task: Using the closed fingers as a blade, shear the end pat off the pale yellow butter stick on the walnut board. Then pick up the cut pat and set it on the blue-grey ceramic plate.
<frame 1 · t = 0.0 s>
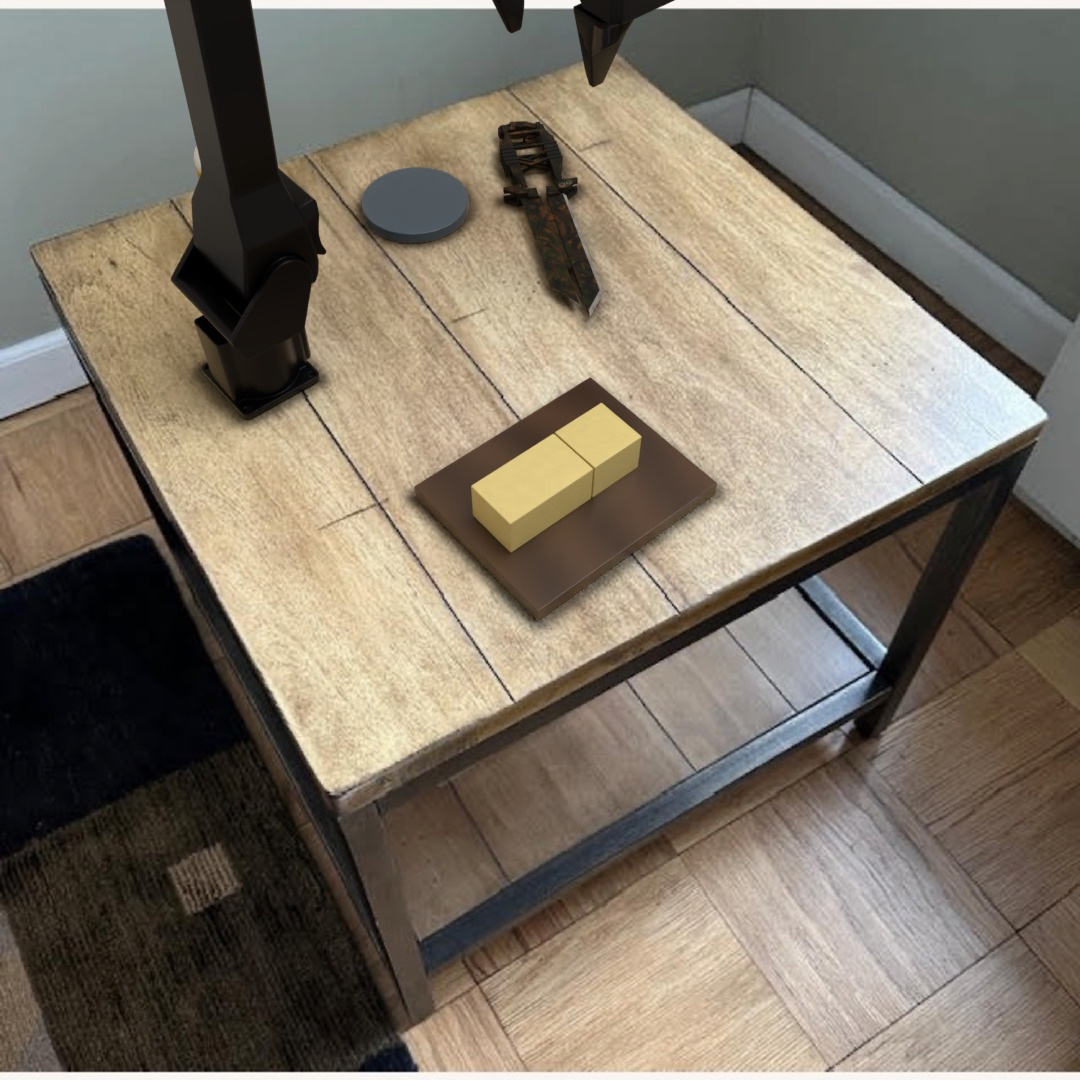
hand: (554, 56, 80), 15 cm above the table, tool pointing down, fingers open, 9 cm apart
board: (565, 495, 75), on the table
knife: (553, 221, 93), on the table
butter pat: (595, 465, 75), point 1 cm above the table, touching board
butter stick: (532, 507, 73), point 1 cm above the table, touching board
plate: (415, 209, 93), on the table
pill bottle: (255, 239, 91), on the table
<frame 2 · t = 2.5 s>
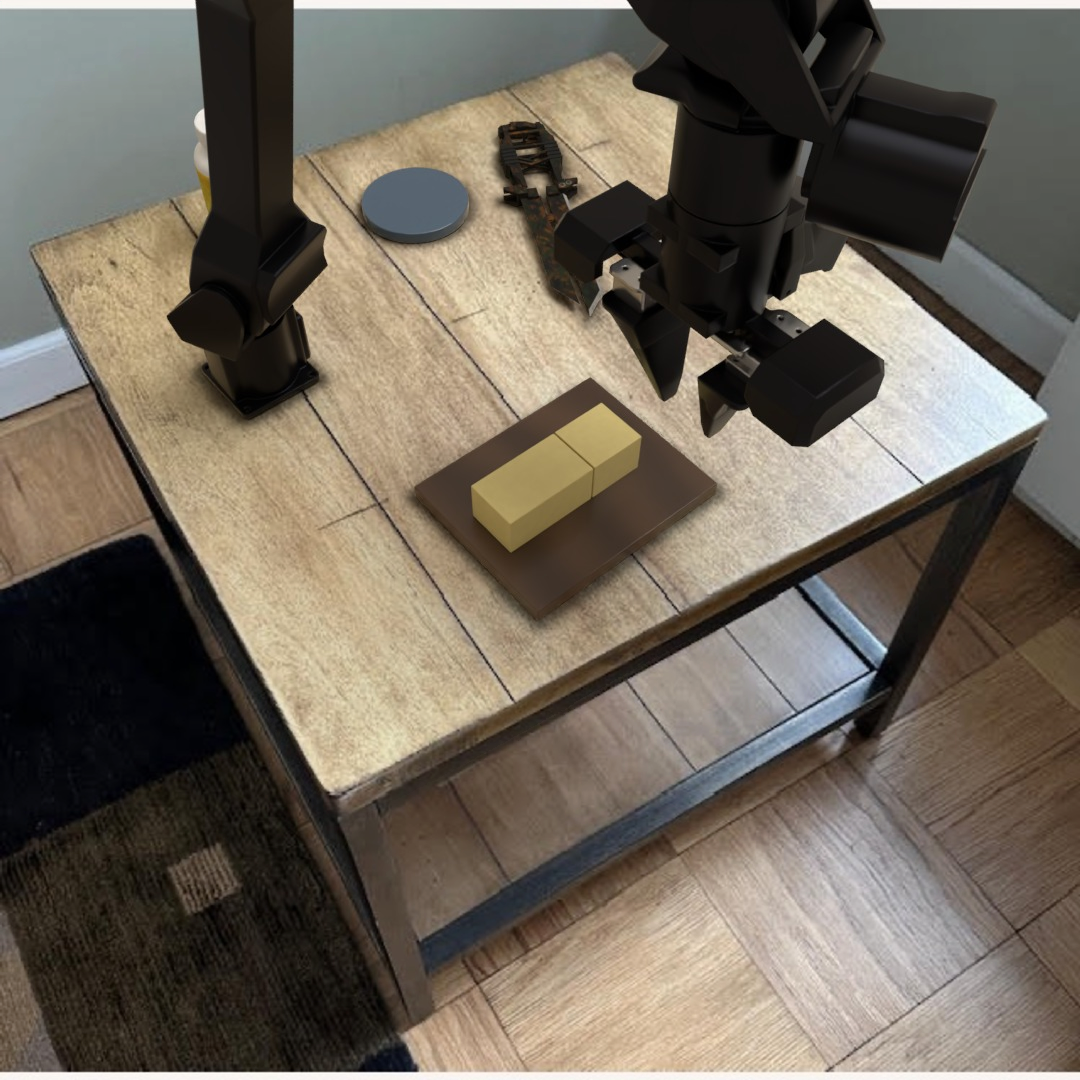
hand: (689, 414, 63), 12 cm above the table, tool pointing down, fingers open, 3 cm apart
nothing on the table moved.
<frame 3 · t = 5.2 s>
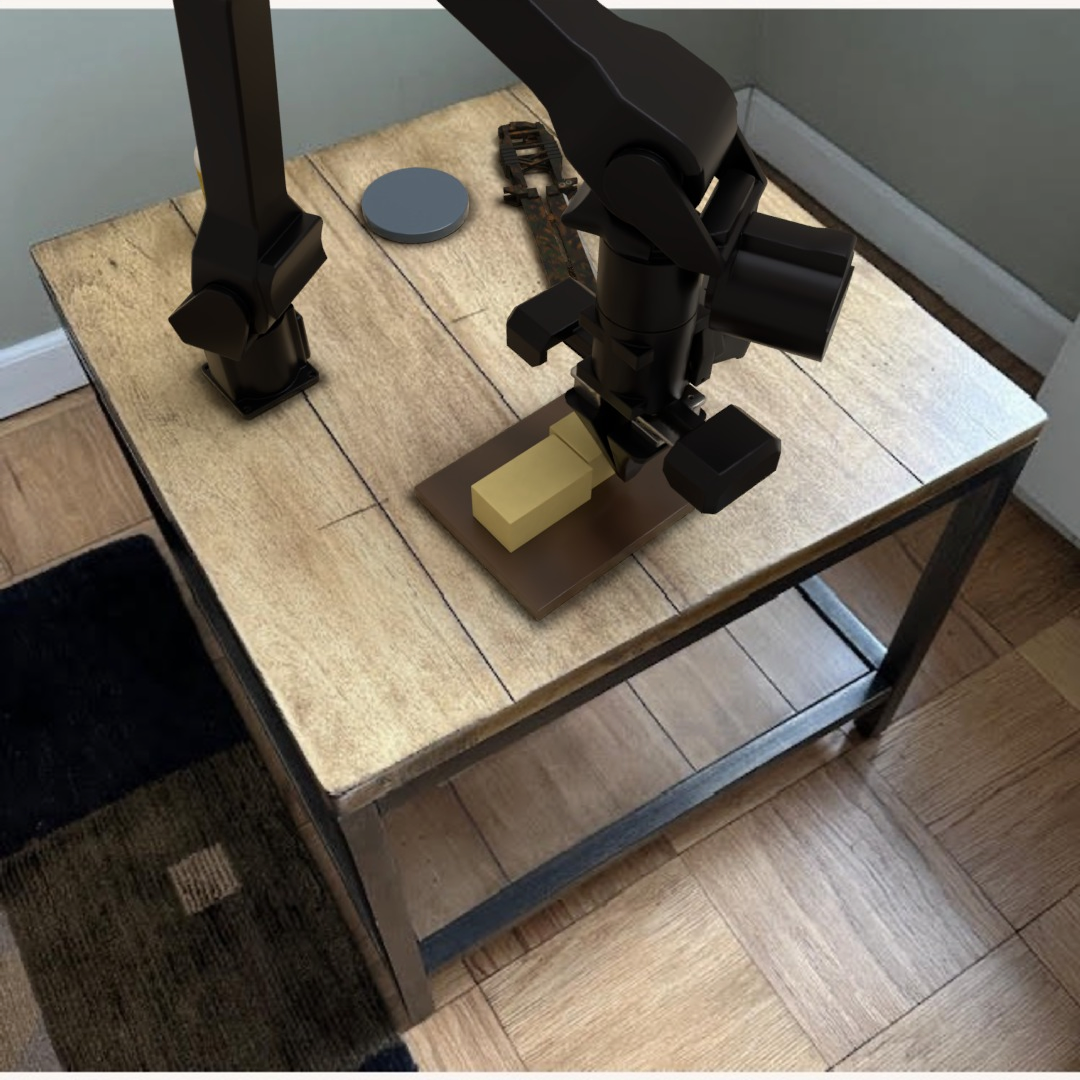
hand: (627, 476, 73), 2 cm above the table, tool pointing down, fingers closed
butter pat: (590, 459, 76), point 1 cm above the table, touching board, gripper
everything else where it was.
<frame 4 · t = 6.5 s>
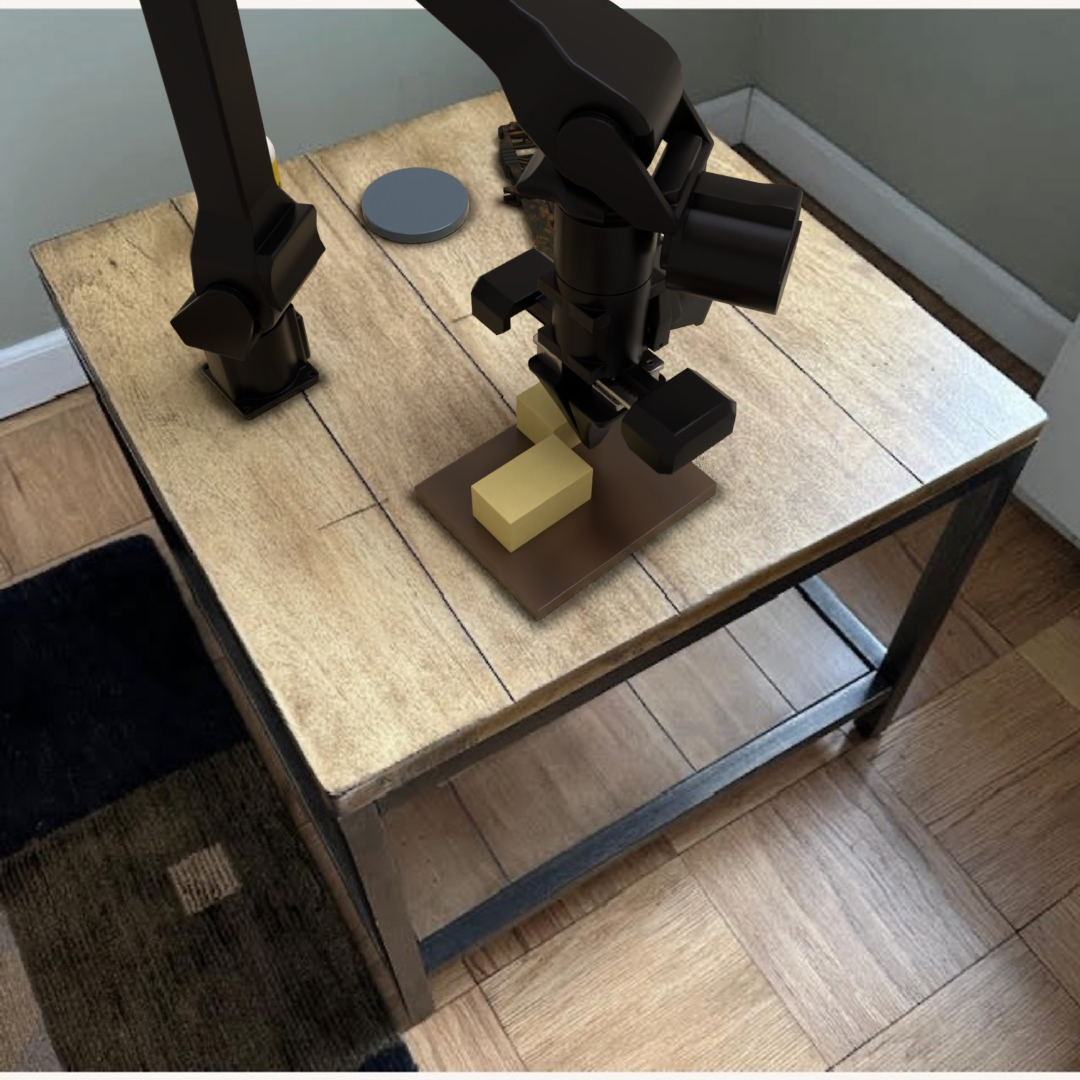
hand: (591, 443, 75), 2 cm above the table, tool pointing down, fingers closed
butter pat: (557, 429, 77), point 1 cm above the table, touching gripper
everything else where it was.
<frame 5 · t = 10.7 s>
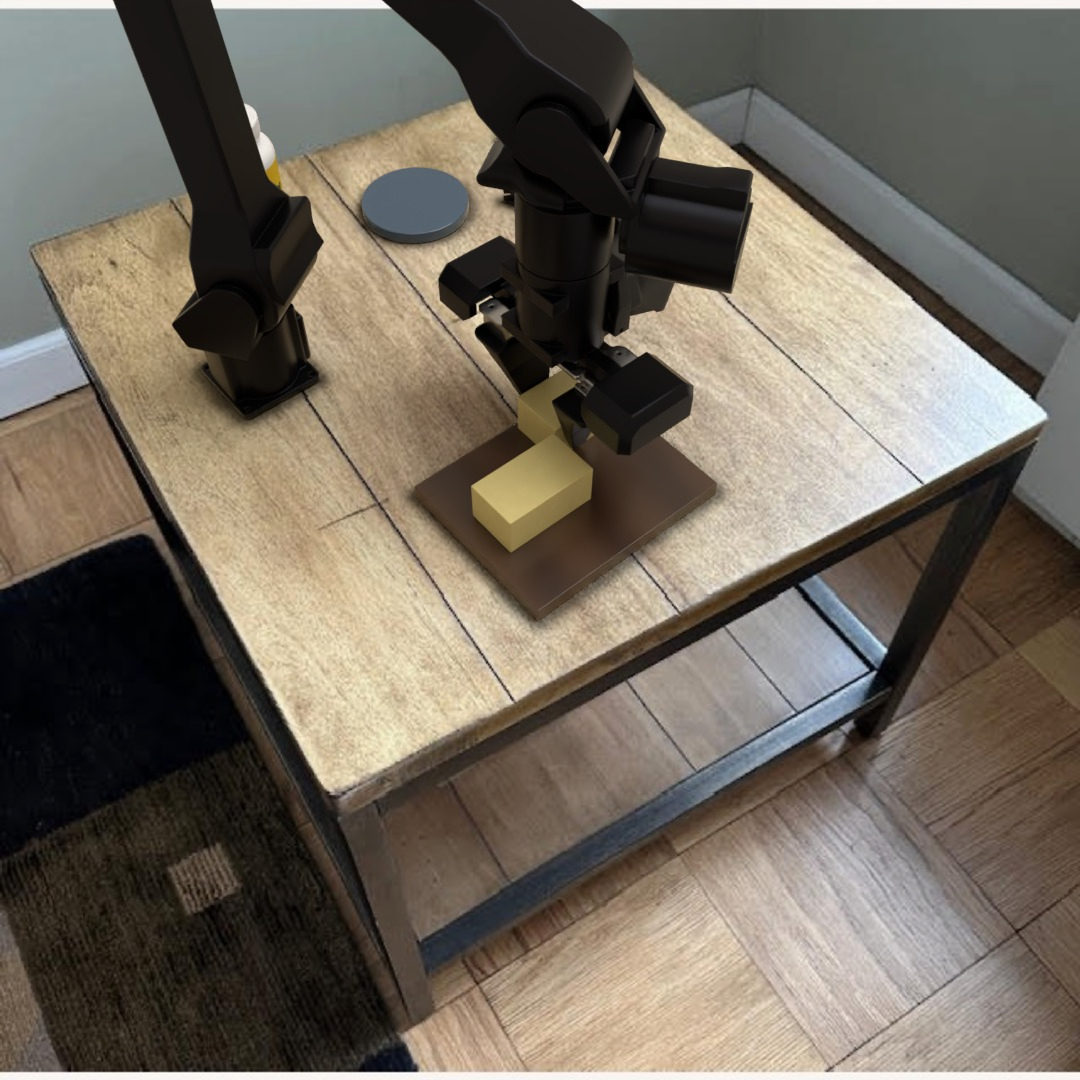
hand: (557, 427, 77), 2 cm above the table, tool pointing down, fingers closed on butter pat, 4 cm apart
butter pat: (558, 430, 77), point 1 cm above the table, touching gripper
everything else where it was.
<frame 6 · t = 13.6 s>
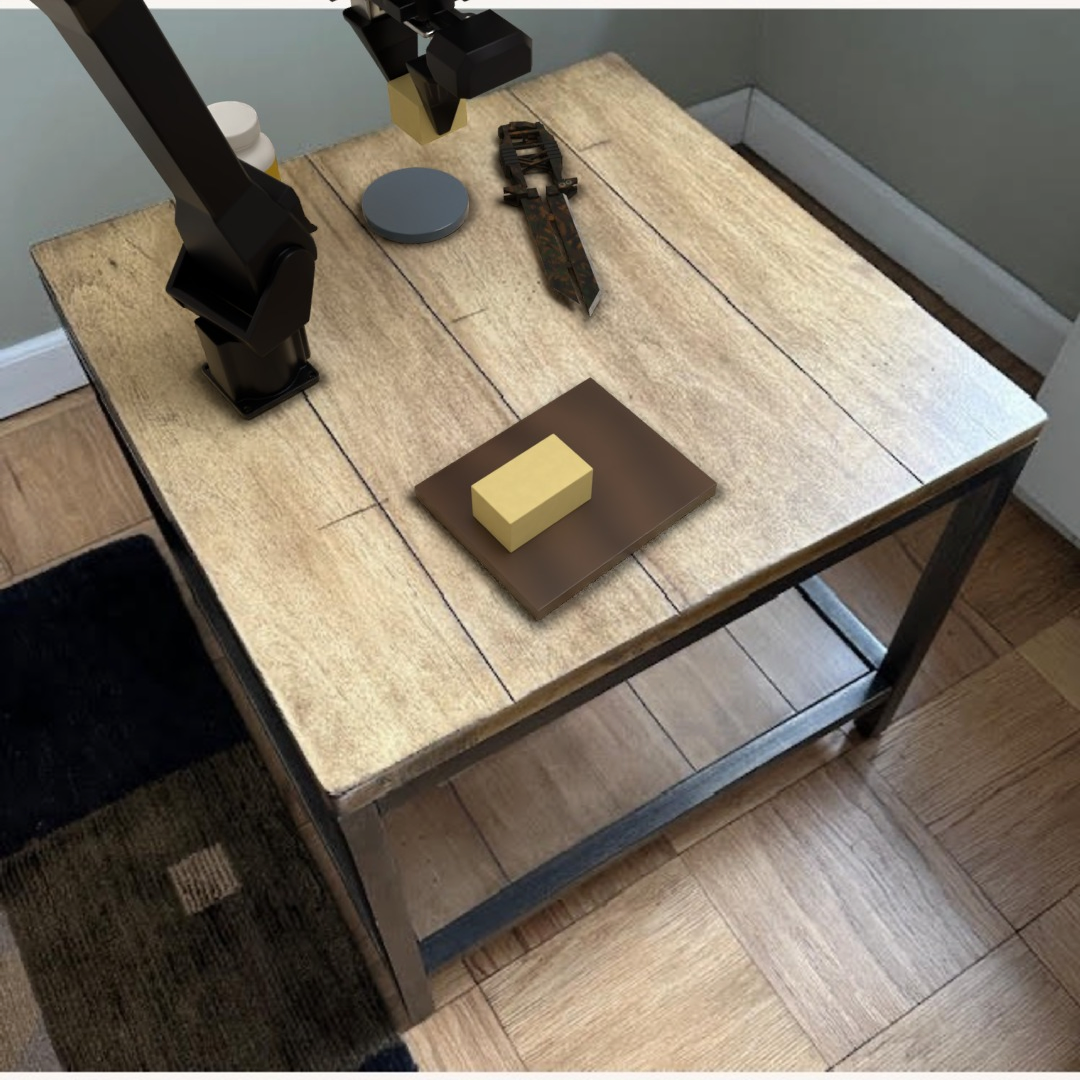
hand: (426, 119, 82), 11 cm above the table, tool pointing down, fingers closed on butter pat, 4 cm apart
butter pat: (429, 123, 82), point 11 cm above the table, touching gripper
everything else where it was.
when the fingers open (1 cm above the table, at t = 16.6 s): butter pat stays where it is, resting on plate.
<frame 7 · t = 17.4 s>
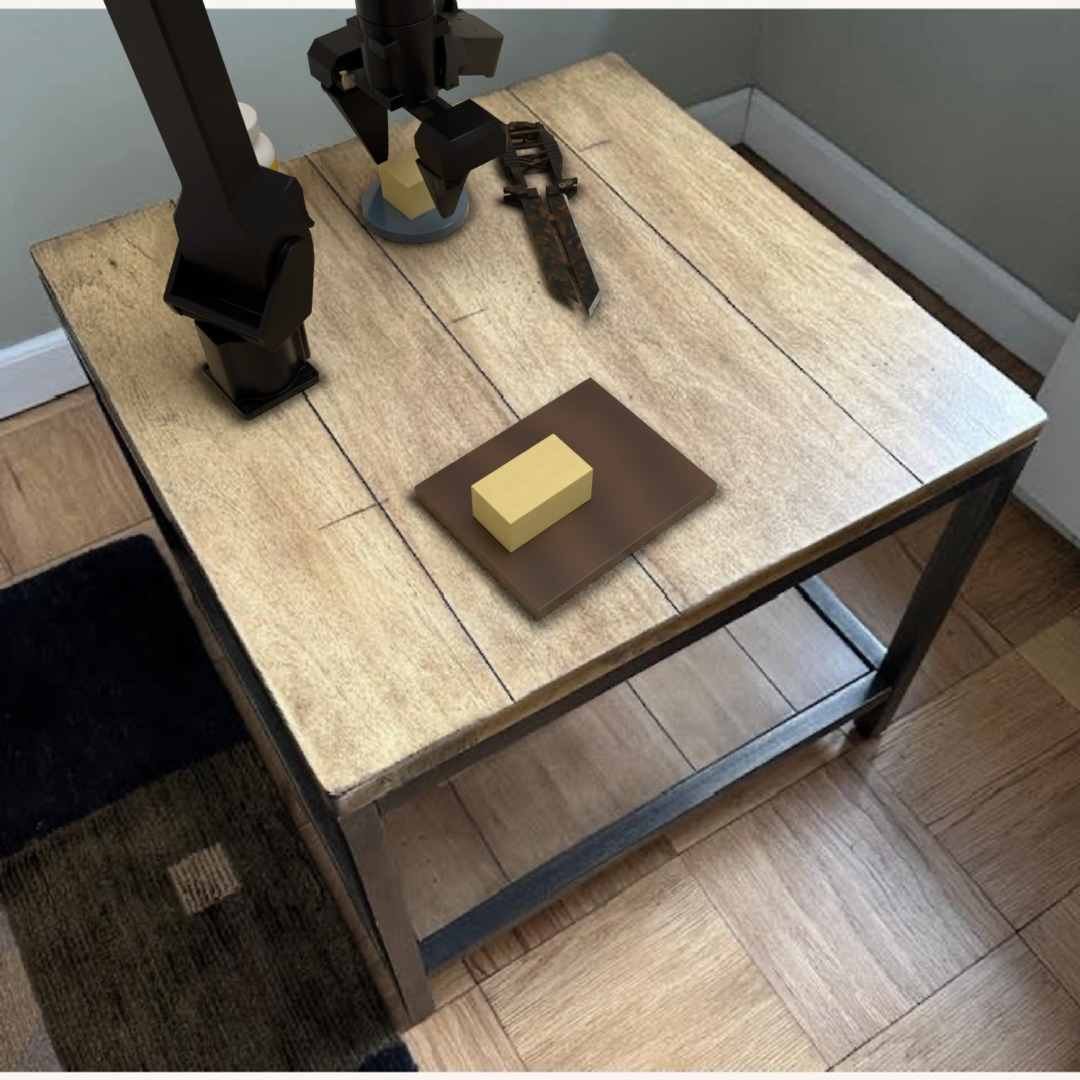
hand: (414, 188, 91), 2 cm above the table, tool pointing down, fingers open, 9 cm apart
butter pat: (416, 198, 92), point 1 cm above the table, touching plate
everything else where it was.
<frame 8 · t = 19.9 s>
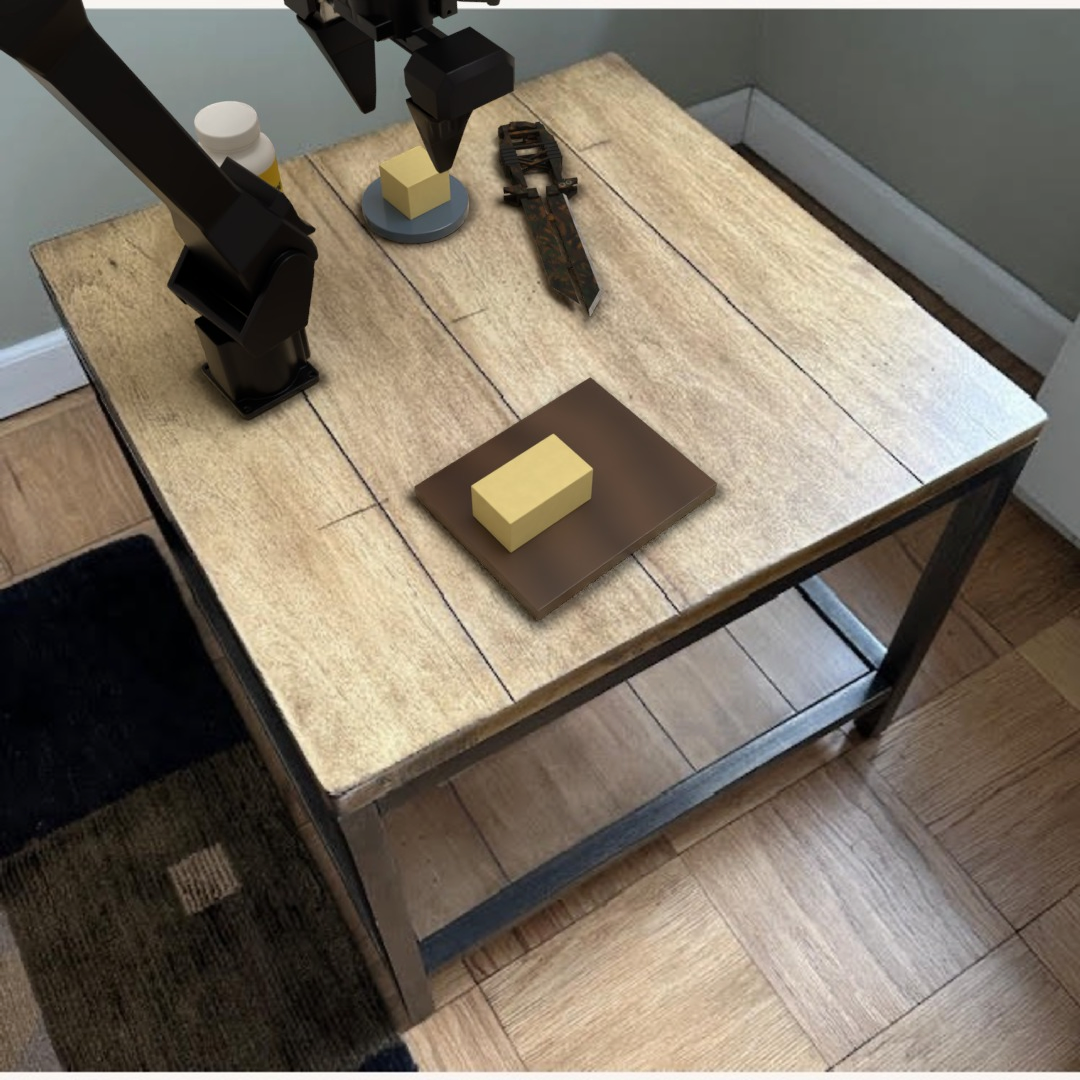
hand: (405, 140, 79), 12 cm above the table, tool pointing down, fingers open, 9 cm apart
nothing on the table moved.
at the end: butter pat 0.2 cm off-centre on the plate, point 1.0 cm above the plate's base; butter stick inside the target area on the board (3.0 cm from its centre), point 1.2 cm above the board's base; the gripper is holding nothing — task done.
